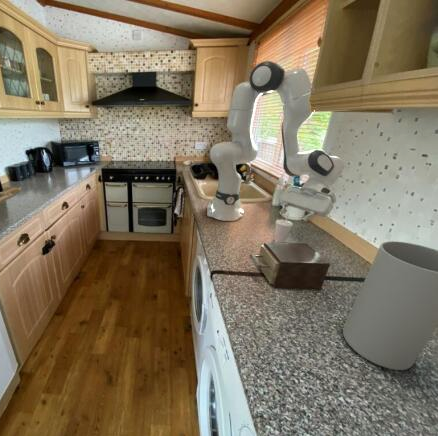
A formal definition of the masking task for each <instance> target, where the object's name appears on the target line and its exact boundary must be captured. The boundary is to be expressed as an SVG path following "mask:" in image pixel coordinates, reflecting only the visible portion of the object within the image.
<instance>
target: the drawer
mask: <svg viewBox="0 0 438 436" xmlns="http://www.w3.org/2000/svg"><path fill="white" fill-rule="evenodd" d="M248 256H249V258H250V260H251V261H252V262H253V264H254V266H255V267H256V269H258V270H260V271H261V272H262V273H263V275H264V276H265V278H266V279H267V281H268V283H269V284H270V285H272V284H274V283H275V279H276V275H277V272H278V268H279V264H280V263H279V261H278V260H277V259H276V258H275V257H274V255H273V254H272V253H271V252H270V251H269V250H268V249H267V248H266V246H265V245H264V244H261V245H260V249H259V253H258V254H254V253H250V254H249V255H248Z"/></svg>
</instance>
